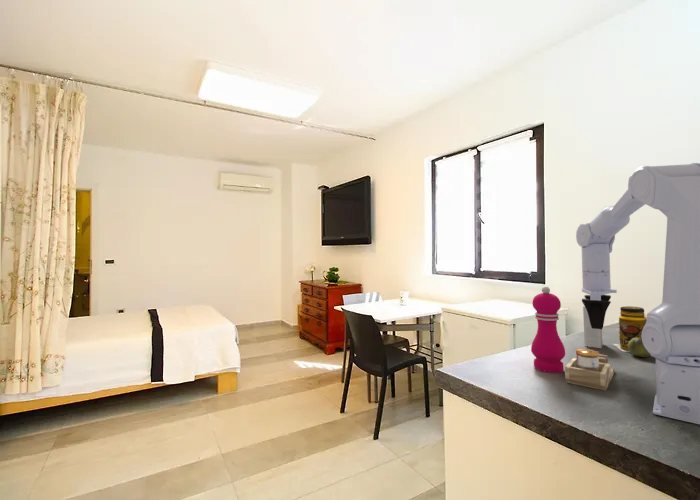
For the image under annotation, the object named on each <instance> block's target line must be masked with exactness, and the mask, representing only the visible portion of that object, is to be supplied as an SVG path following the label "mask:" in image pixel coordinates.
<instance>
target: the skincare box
mask: <svg viewBox="0 0 700 500" xmlns="http://www.w3.org/2000/svg"><path fill="white" fill-rule="evenodd" d="M582 314H583V335H584V336H583V338H584V339H583V341H584V346H585V347H587V346H588V348H596V349H602V347H603V344H604V343H603V342H604V341H603V328H602V329H593V328H592V327H591V324H590V320H589V316H588V312H587V310H586V307H585V306H584V305H583V306H582Z"/></svg>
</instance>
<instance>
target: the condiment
mask: <svg viewBox="0 0 700 500" xmlns="http://www.w3.org/2000/svg"><path fill="white" fill-rule="evenodd" d="M619 314H620V316H619V317H618V325H619V326H618V327H619V330H618V331H619V332H618V333H619V336H618V337H619V343H618V344H617V343H612V345H613V346H615V347H616V348H617V349H618V350H620V351H622V352H625V353H631V352H630V351H629V349H628V343H629V341H630V340H632V339H633V338H641V339H642V330H643V328H644V326H645V324H646V321H647V317H645V315H646V313H645V309H644V308H643V307H639V306H631V305H630V306H629V305H628V306H620V313H619Z"/></svg>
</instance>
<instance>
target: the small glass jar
mask: <svg viewBox="0 0 700 500" xmlns="http://www.w3.org/2000/svg"><path fill="white" fill-rule="evenodd" d="M597 351H598V350H594V349H588V348H577V349H575V355H576V359H577V368H582V369H587V370H593V371H599V352H600V351H599V352H597Z"/></svg>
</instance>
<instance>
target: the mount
mask: <svg viewBox="0 0 700 500" xmlns="http://www.w3.org/2000/svg"><path fill="white" fill-rule="evenodd" d="M615 373H616V372H615V367H611V363H609V360H608V355H605V354H603V355H601V354H599V371H593V370H587V369H582V368H577V357H576V358H574V357H573V358H572V359H570V361H569V362H568V363H567V364H565V366H564V378H565V383H568V384H572V385H577V386H580V387H581V386H582V387H587V388H590V389H591V388H592V389H597V390H601V391H607V389H608V387H609V385H610V384H611V381H612V378H613V376H614V374H615Z"/></svg>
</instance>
